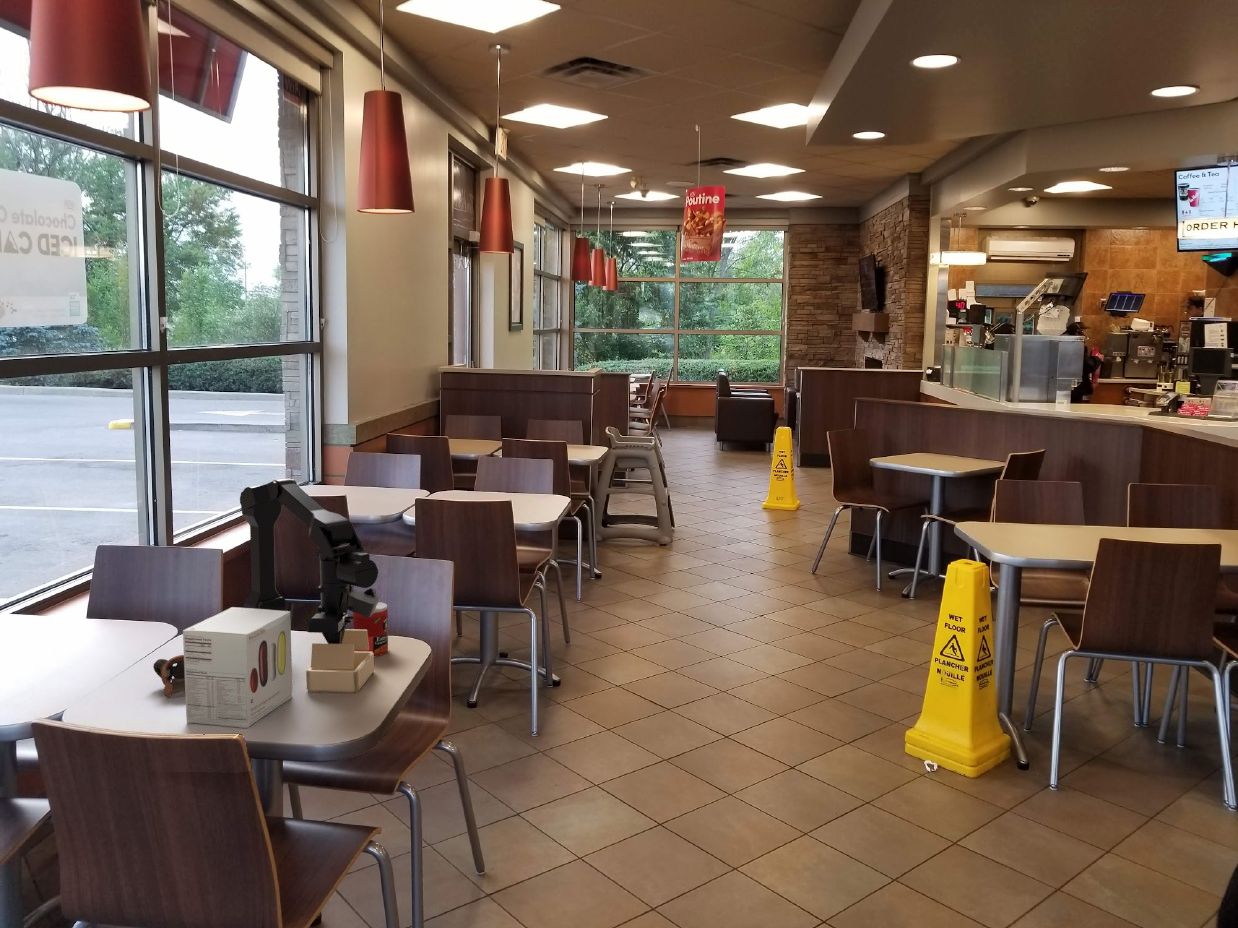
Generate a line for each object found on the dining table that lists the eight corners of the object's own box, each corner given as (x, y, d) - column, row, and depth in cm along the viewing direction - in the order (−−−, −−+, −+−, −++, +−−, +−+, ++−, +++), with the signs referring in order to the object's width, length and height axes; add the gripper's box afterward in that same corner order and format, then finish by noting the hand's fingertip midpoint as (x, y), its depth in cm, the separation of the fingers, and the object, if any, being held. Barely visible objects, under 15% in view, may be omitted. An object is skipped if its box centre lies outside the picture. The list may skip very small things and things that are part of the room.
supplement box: (250, 729, 183) (246, 634, 180) (184, 723, 185) (180, 630, 182) (295, 696, 200) (292, 609, 197) (234, 691, 202) (231, 605, 199)
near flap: (311, 668, 202) (310, 668, 201) (312, 643, 202) (312, 643, 202) (353, 668, 201) (352, 668, 201) (354, 644, 202) (354, 644, 202)
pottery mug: (219, 684, 207) (215, 658, 202) (190, 718, 200) (186, 691, 195) (168, 666, 209) (163, 639, 204) (138, 698, 201) (132, 671, 196)
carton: (305, 692, 202) (305, 670, 201) (325, 670, 215) (325, 650, 214) (358, 693, 202) (357, 671, 201) (374, 671, 215) (374, 651, 214)
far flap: (326, 629, 212) (327, 628, 212) (329, 649, 214) (329, 648, 214) (366, 630, 212) (367, 629, 212) (368, 650, 213) (369, 649, 214)
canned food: (379, 658, 223) (378, 611, 222) (347, 655, 225) (346, 608, 224) (394, 648, 231) (393, 602, 229) (362, 645, 232) (361, 600, 231)
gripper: (361, 592, 193) (363, 669, 195) (385, 570, 211) (386, 640, 213) (305, 591, 193) (307, 668, 195) (333, 569, 212) (335, 639, 214)
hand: (336, 653), depth 204 cm, fingers closed
